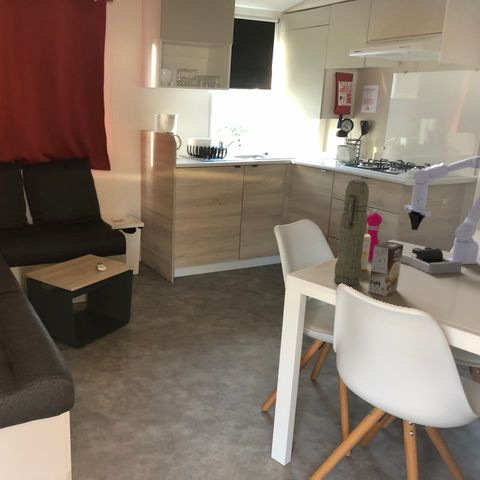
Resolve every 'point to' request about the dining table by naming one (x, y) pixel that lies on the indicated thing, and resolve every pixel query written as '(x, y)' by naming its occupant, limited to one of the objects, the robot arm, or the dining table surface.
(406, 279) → the dining table surface
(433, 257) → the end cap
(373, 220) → the pepper mill
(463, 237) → the robot arm
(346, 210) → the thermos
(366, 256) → the cream bottle
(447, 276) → the dining table surface
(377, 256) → the coffee box
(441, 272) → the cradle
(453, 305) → the dining table surface
